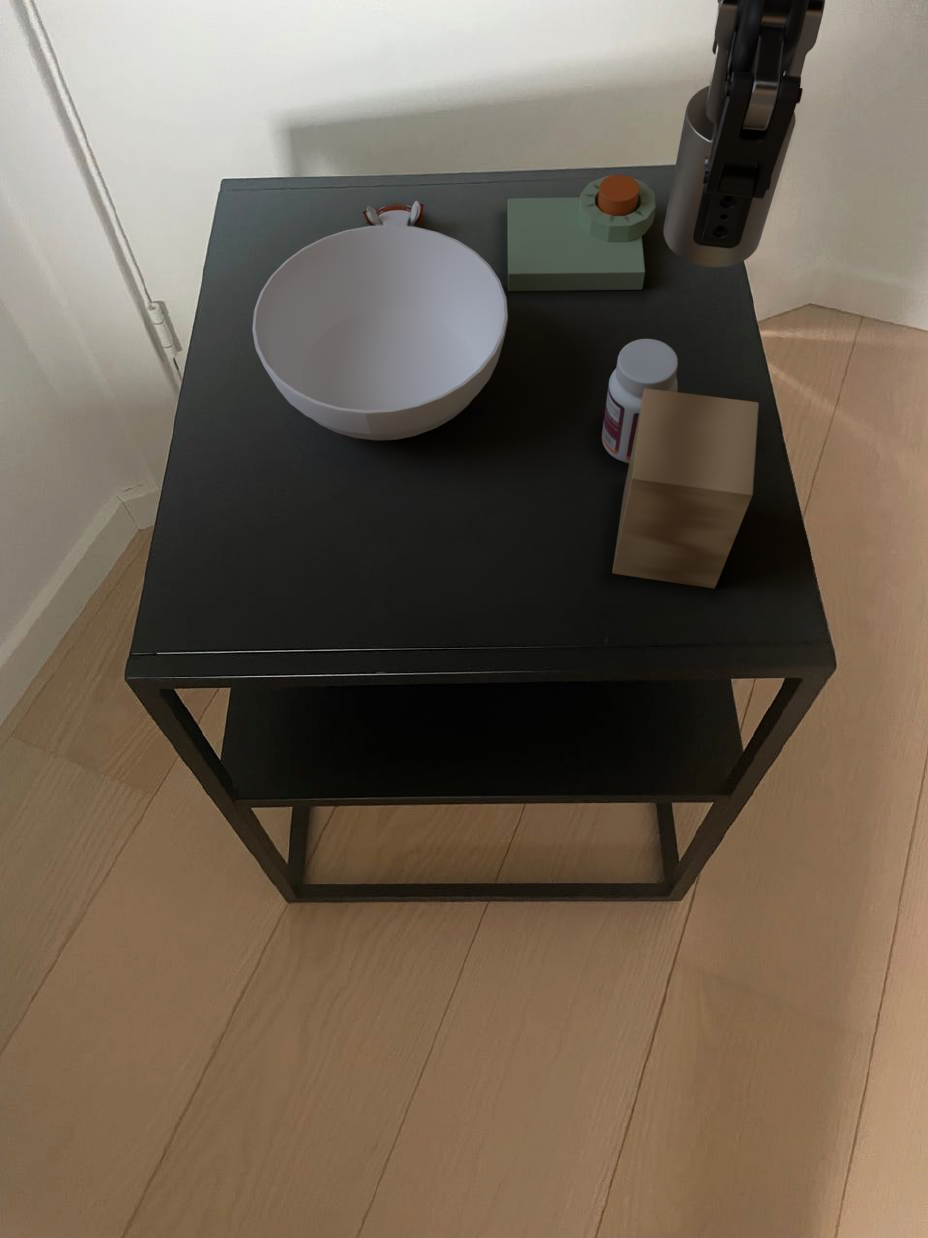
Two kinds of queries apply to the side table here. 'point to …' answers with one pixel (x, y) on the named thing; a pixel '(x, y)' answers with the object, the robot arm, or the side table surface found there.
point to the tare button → (618, 195)
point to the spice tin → (690, 190)
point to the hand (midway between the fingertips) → (719, 201)
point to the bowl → (381, 330)
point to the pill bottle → (635, 391)
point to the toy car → (395, 215)
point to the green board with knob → (576, 243)
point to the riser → (686, 487)
